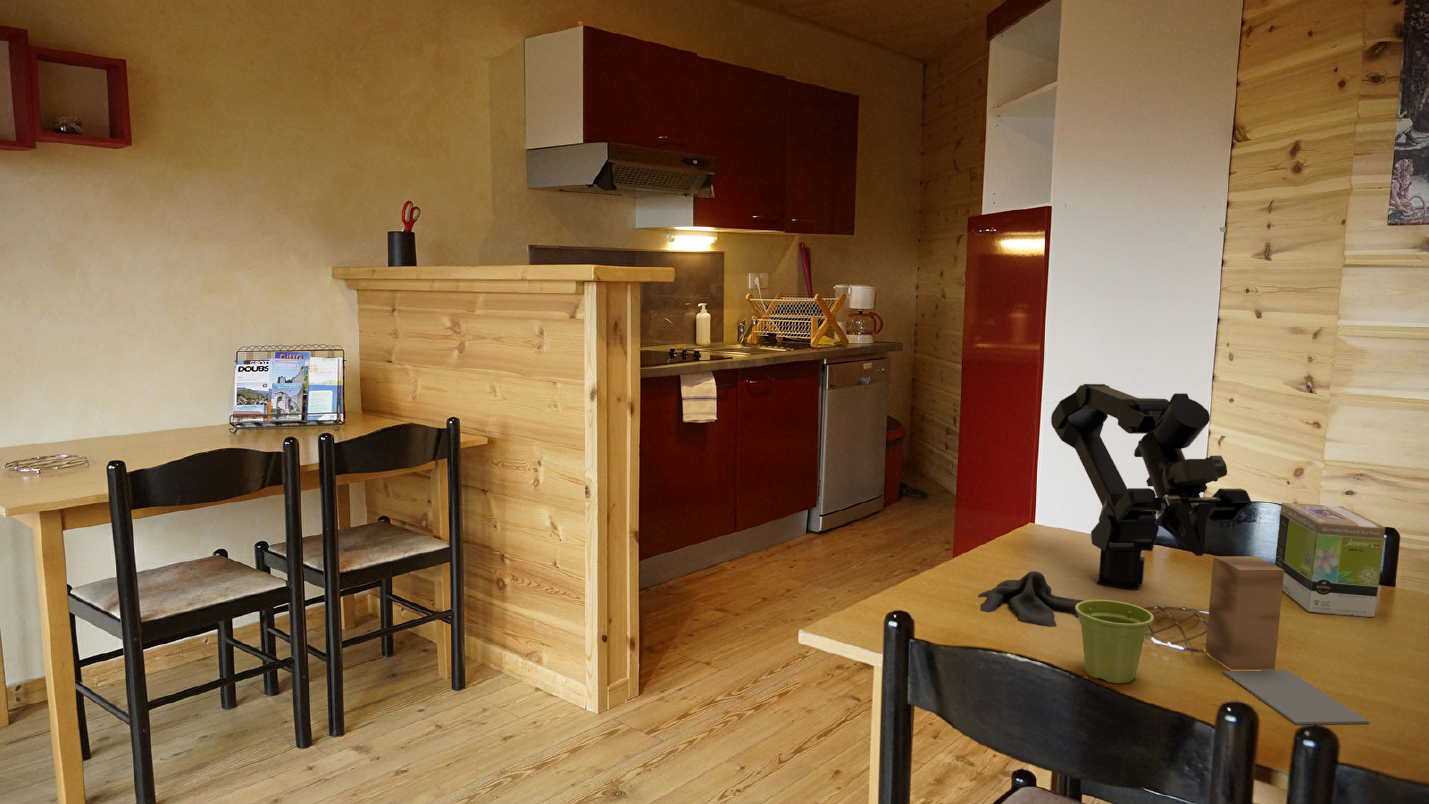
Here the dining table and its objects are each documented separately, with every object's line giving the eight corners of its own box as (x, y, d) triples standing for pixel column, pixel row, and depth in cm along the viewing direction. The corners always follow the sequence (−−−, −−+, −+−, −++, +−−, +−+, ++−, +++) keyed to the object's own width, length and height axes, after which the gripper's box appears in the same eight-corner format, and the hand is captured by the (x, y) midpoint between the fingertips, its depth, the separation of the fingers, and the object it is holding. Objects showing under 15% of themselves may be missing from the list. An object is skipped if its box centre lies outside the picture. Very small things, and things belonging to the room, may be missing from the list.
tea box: (1378, 619, 146) (1388, 526, 144) (1306, 613, 148) (1315, 522, 146) (1335, 588, 160) (1343, 503, 158) (1270, 583, 162) (1278, 500, 160)
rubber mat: (1222, 673, 124) (1222, 670, 124) (1287, 672, 125) (1288, 670, 125) (1295, 724, 110) (1295, 722, 110) (1369, 723, 110) (1369, 721, 110)
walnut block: (1205, 653, 131) (1213, 556, 129) (1246, 653, 131) (1255, 556, 129) (1231, 671, 125) (1240, 569, 123) (1274, 671, 125) (1284, 569, 123)
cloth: (1023, 581, 163) (1025, 546, 163) (1118, 613, 148) (1121, 575, 147) (931, 603, 152) (932, 566, 151) (1024, 640, 136) (1026, 600, 135)
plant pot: (1059, 660, 128) (1063, 599, 126) (1125, 659, 128) (1129, 598, 127) (1092, 690, 118) (1096, 624, 117) (1163, 689, 119) (1168, 623, 118)
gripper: (1129, 435, 140) (1162, 527, 130) (1250, 436, 141) (1291, 527, 131) (1101, 476, 149) (1130, 564, 139) (1214, 476, 150) (1251, 564, 140)
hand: (1200, 554), depth 137 cm, fingers closed
